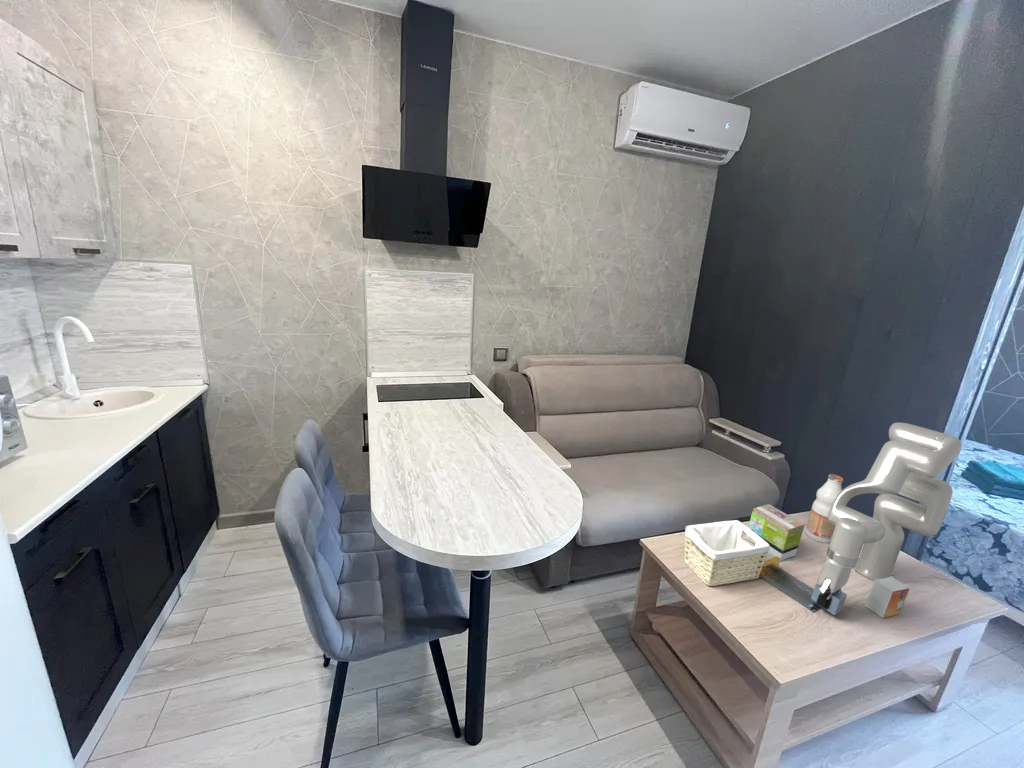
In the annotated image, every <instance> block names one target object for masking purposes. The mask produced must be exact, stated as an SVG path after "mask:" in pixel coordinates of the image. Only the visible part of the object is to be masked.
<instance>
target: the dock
mask: <svg viewBox="0 0 1024 768" xmlns="http://www.w3.org/2000/svg"><path fill="white" fill-rule="evenodd" d="M780 559H781V558H779V557H777V556H775V557H773V556H772V557H771V558H770V559H768V560H764V564H763V566H762V569H761V572H760V575H759V578H761V579H762V580H763V581H765V582H767V584H770V585H772V586H773V587H774V588H775V589H777V590H779V591H780V592H782V593H783V594H785V595H786V596H788V597H789V598H791V599H792V600H793V601H795V602H796V603H799V604H800V605H801V606H803V607H805V608H806V609H807V610H809V611H811V612H812V613H815V612H816V611H818V610H820V609H821V608H822V607H821V606H819V605H818V604H816V603H815V602H813V601H811V597H812V594H813V591H814V588H813V587H811V586H809V585H808V584H806V583H805V582H803V581H801V580H800V579H798V578H797V577H795V576H793V575H791V574H790V573H788V572H787V571H785V570H783V569H782V568H780V567H779V565H780V562H781V561H780Z"/></svg>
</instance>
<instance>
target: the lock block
mask: <svg viewBox="0 0 1024 768" xmlns="http://www.w3.org/2000/svg"><path fill="white" fill-rule="evenodd" d="M823 584H824V583H823ZM823 584H822V585H823ZM822 585H818V584H817V583H816V584H815V585H814V588H813V589H814V591H813V594H812V597H811V601H813V602H815V603H816V604H817V599H818V596H819V593H820V592H819V590H820V589H821V587H822ZM828 588H829V589H830V587H828ZM826 593H828V594H829V591H826ZM847 597H848V594H847V593H846V592H844V591H842V589H841V590H838V591H836V592H834V593H832V596H831V598H830V599H831V602H830V605H829V608H828V609H827V610H826V611H827V612H828V613H830V614H832V616H835V615H837V614H838V613H840V612H841V611H842V610H843V608H844V605H845V602H846V599H847ZM819 606H820V605H819ZM821 608H822V609H824V608H823V607H821Z"/></svg>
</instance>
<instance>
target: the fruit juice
mask: <svg viewBox="0 0 1024 768" xmlns="http://www.w3.org/2000/svg"><path fill="white" fill-rule="evenodd" d="M843 482H844V478H843V477H842V476H840V475H838V474H833V473H830V474H828V476H827V480H826V482H825V483H824V484H823V485H822V486H821V487H820V488H818V489H817V491H816V496H815V497H816V499H815V500H814V501H813V502H812V505H811V509H810V513H809V516H808V519H807V522H806V524H805V525H806V526H805V528H804V529H805V530H804V531H805V534H806V536H807V537H809V538H810V539H811V540H813V541H815V542H818V543H822V544H830V541H831V538H832V535H833V532H834V528H835V526H834V525H832V524H831V523H830V522H829V521H828V513H829V510H830V508H831V506H832V504H833V502H834V500H835V499H836V497H837V495H838V494H839V493H840V492H841V491H842V490H843V488H842V484H843Z"/></svg>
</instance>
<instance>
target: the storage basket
mask: <svg viewBox="0 0 1024 768" xmlns="http://www.w3.org/2000/svg"><path fill="white" fill-rule="evenodd" d="M743 534H745V536H746V535H747V536H748V537H750V538H751V539H752V540H753V541H755V542H756V543H755V544H754V546H752V545H751V544H749V542H747V541H745V540H743ZM684 535H685V536H684V540H685V541H684V553H683V554H684V556H683V560H684V563H685V564H686V565H687V566H688V567H689V568H690V569H691V570H692V571H693V573H695V574H696V575H697V577H698V578H700V580H701V581H702V582H703V583H704V584H705V585H706V586H708V587H716V586H722V585H727V584H733V583H737V582H738V583H739V582H743V581H750V580H755V579H759V578H760V577H759V575H760V572H761V569H762V566H763V564H764V562H765V561H766V559H767V556H768V555H769V554H768V552H769V544H768V543H767V542H765V541H764V540H763V539H762V538H761V537H760V536H758V535H757V534H756V533H754V532H753V531H752V530H751V529H749V528H748V526H746V525H745V524H744V523H742V522H741V521H739V520H737V519H734V520H724V521H723V520H722V521H716V522H709V523H699V524H691V525H686V526H685V532H684Z"/></svg>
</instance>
